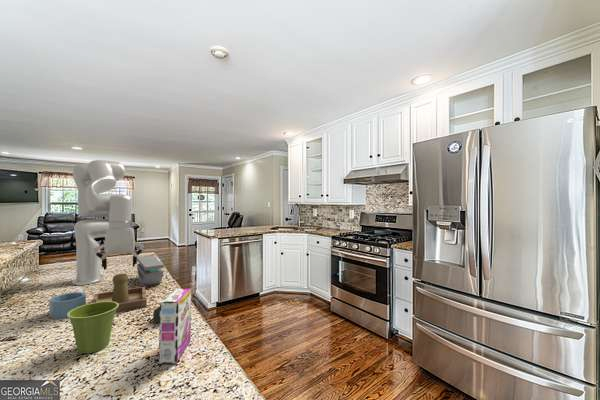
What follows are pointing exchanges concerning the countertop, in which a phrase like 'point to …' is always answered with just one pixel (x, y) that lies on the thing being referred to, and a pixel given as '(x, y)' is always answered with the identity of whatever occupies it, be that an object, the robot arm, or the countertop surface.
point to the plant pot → (92, 325)
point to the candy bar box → (174, 325)
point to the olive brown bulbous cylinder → (120, 288)
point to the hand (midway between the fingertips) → (119, 267)
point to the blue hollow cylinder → (65, 304)
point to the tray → (135, 301)
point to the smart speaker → (156, 315)
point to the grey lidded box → (149, 270)
